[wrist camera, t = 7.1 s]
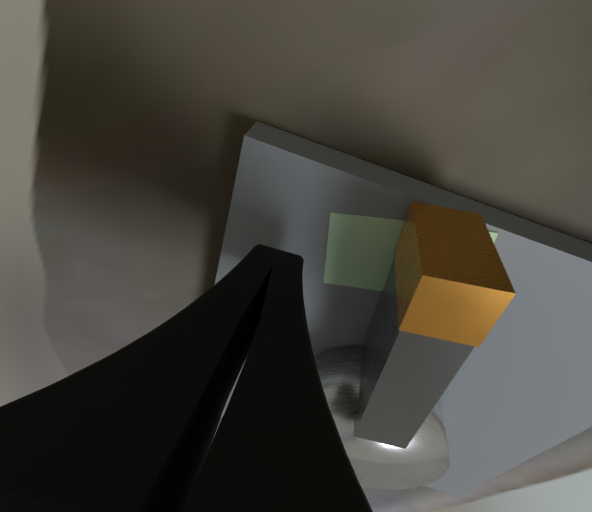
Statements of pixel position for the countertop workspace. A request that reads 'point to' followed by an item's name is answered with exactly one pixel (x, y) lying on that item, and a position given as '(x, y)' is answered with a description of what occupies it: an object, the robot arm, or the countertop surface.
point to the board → (373, 274)
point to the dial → (415, 348)
